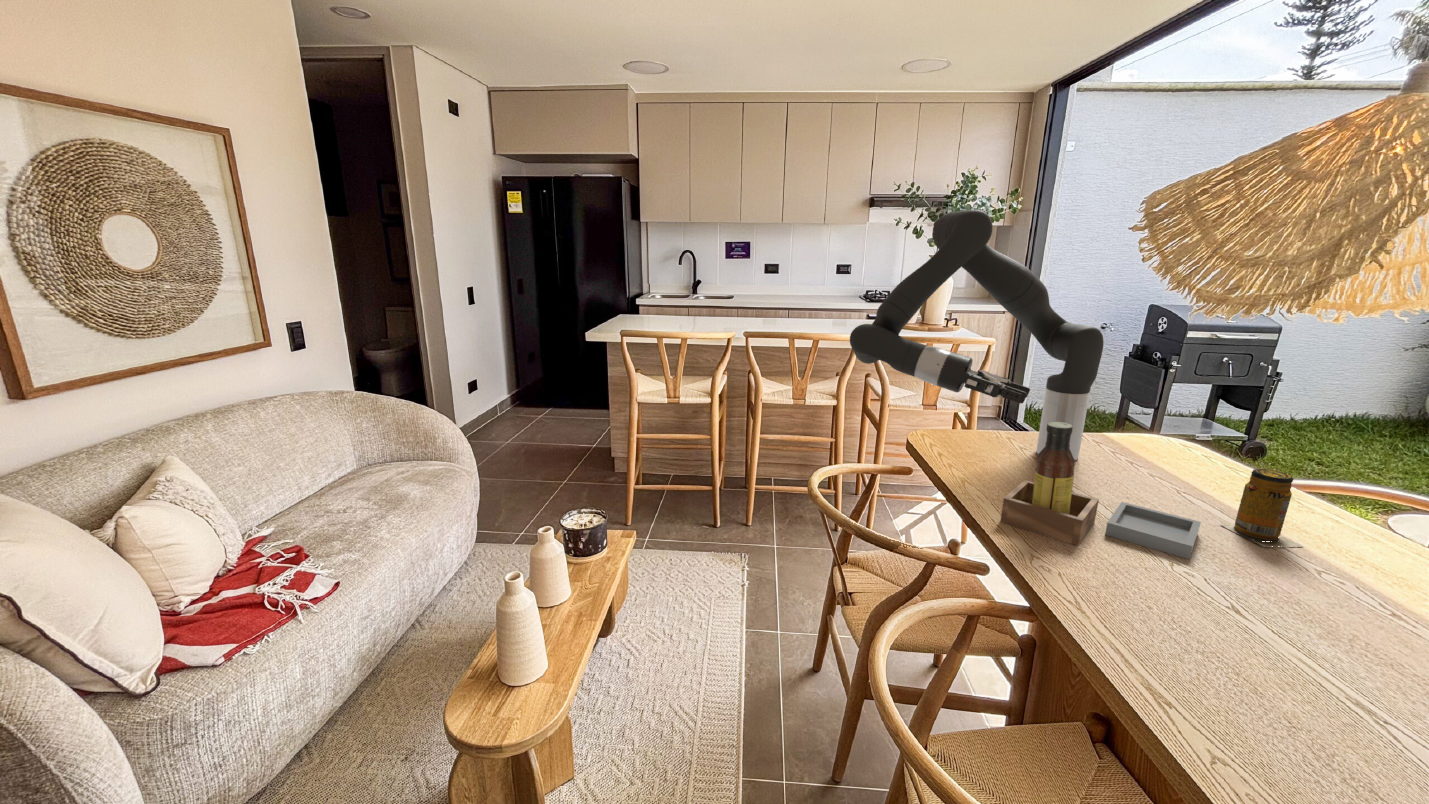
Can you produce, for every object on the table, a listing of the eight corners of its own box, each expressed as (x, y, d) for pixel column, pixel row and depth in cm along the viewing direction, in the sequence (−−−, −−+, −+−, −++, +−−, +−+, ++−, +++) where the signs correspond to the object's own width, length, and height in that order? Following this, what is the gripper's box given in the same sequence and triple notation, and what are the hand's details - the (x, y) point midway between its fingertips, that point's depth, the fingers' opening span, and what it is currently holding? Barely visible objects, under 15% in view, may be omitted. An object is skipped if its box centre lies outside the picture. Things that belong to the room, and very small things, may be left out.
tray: (1119, 513, 109) (1121, 501, 109) (1197, 534, 101) (1200, 521, 100) (1105, 534, 101) (1107, 522, 101) (1189, 559, 93) (1192, 546, 92)
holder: (1021, 501, 115) (1024, 479, 113) (1094, 522, 106) (1098, 499, 104) (1000, 521, 107) (1003, 498, 105) (1077, 546, 98) (1082, 520, 96)
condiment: (1256, 524, 104) (1272, 465, 101) (1303, 547, 96) (1323, 484, 93) (1218, 525, 104) (1234, 466, 101) (1263, 548, 96) (1281, 485, 93)
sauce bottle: (1067, 520, 107) (1084, 423, 101) (1066, 533, 102) (1084, 432, 96) (1029, 511, 110) (1044, 417, 105) (1026, 524, 105) (1041, 426, 100)
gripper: (942, 352, 106) (1033, 381, 99) (955, 349, 118) (1036, 374, 110) (928, 388, 108) (1016, 419, 101) (942, 382, 120) (1021, 409, 113)
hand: (1026, 396), depth 106 cm, fingers open, 8 cm apart
